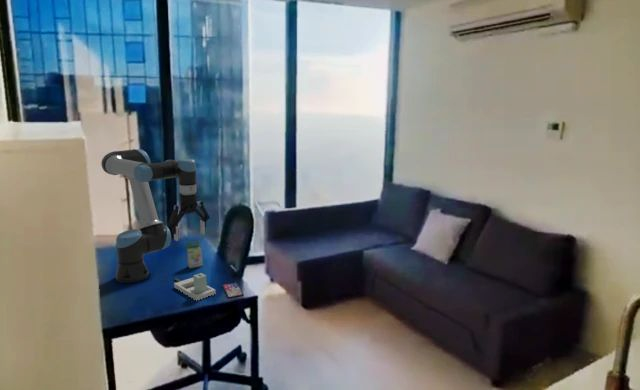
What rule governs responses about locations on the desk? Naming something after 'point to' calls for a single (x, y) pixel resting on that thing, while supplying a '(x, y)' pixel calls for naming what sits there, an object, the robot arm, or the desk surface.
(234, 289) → the smartphone
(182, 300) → the desk surface
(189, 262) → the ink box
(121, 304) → the desk surface
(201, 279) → the block
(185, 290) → the white compartment tray
